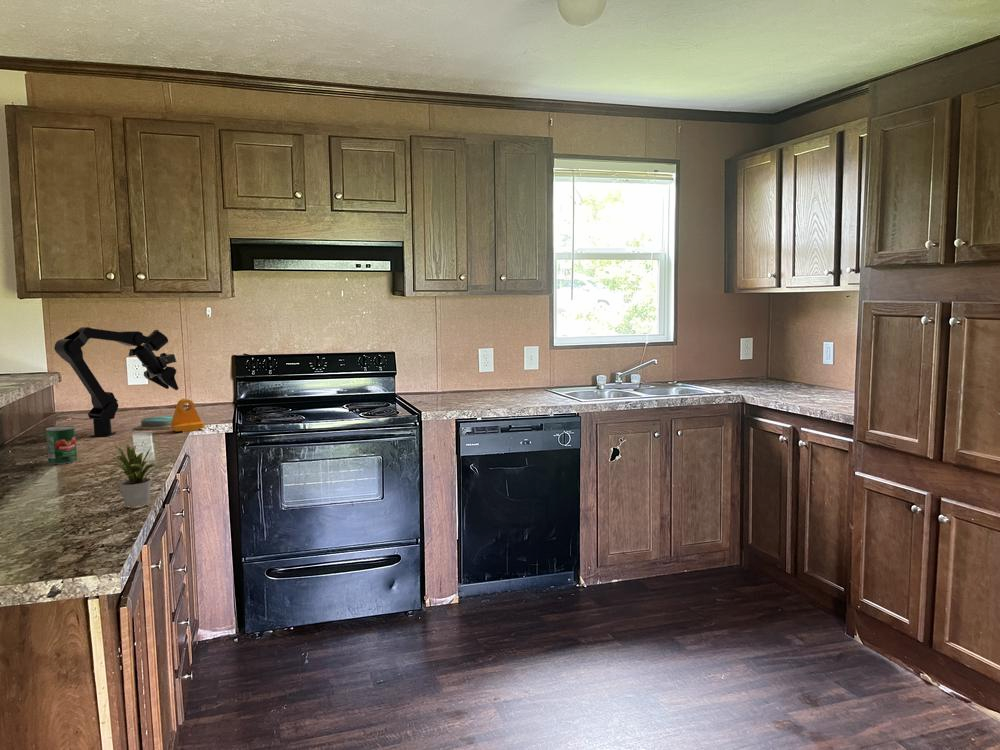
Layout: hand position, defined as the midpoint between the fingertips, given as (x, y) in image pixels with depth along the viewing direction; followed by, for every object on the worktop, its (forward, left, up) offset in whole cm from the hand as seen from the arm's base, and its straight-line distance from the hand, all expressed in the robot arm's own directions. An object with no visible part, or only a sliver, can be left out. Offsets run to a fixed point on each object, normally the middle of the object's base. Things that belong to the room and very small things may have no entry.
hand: (172, 389), depth 302 cm
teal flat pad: (-5, +3, -14) cm, 16 cm away
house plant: (-119, -40, -14) cm, 126 cm away
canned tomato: (-67, +6, -14) cm, 69 cm away
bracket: (-15, -12, -14) cm, 24 cm away
